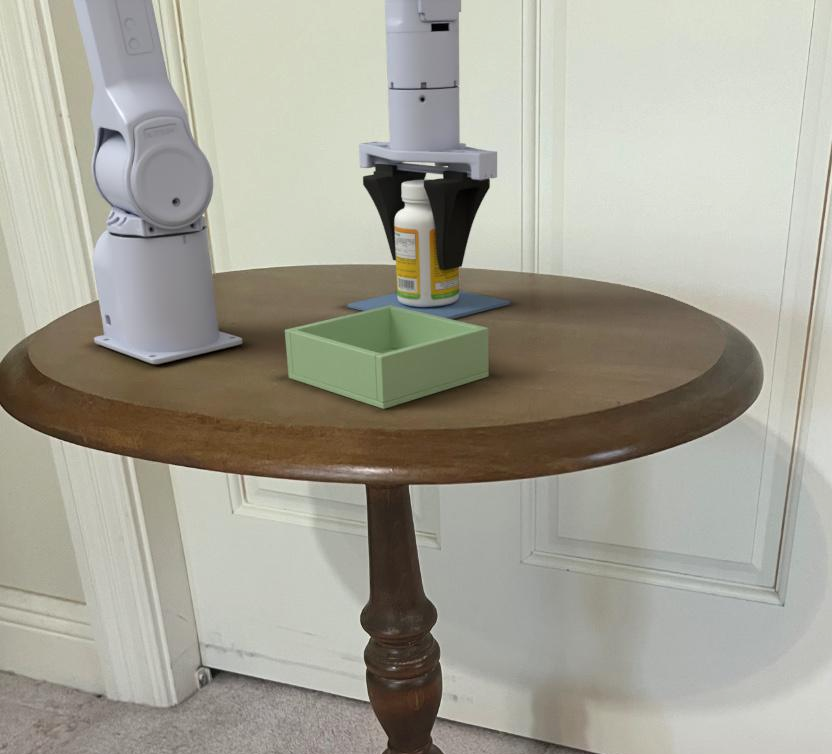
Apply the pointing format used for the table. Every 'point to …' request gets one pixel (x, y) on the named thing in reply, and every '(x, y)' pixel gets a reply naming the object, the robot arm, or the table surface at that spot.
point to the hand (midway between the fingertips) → (427, 263)
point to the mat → (460, 308)
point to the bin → (387, 355)
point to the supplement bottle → (420, 253)
